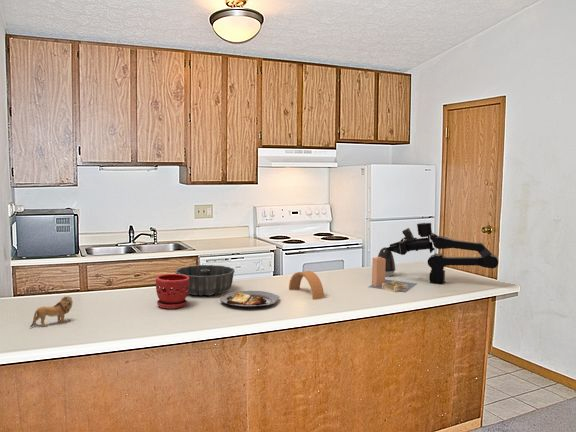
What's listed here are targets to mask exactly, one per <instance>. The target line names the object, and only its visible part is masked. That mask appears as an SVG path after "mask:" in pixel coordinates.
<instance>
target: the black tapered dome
mask: <svg viewBox="0 0 576 432" xmlns="http://www.w3.org/2000/svg"><path fill="white" fill-rule="evenodd" d="M377 257H382V258H384V259H386V264H385V278H386V277H391V276H393V275H394V274H395V271H396V263H395V258H394V254H393V252H392V251H389V250H387V247H385V246H384V247H382V248H381V249H380V250H379V252H378V255H377Z"/></svg>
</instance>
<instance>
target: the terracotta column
mask: <svg viewBox="0 0 576 432" xmlns="http://www.w3.org/2000/svg"><path fill="white" fill-rule="evenodd" d="M385 264H386V259H384V258H382V257H378V256H376V257H372V264H371V269H372V270H371V271H372V272H371V285H374V286H376V287H381V286H382V283H385V279H386V277H385Z"/></svg>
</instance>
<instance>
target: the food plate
mask: <svg viewBox="0 0 576 432" xmlns="http://www.w3.org/2000/svg"><path fill="white" fill-rule="evenodd" d="M279 298H280V296H279V295H278V294H275V293H272V292H270V291H261V290H239V291H232V292H229V293H225V294H223V296H221V297H220V298H219V301H220V303H223V304H224V305H229V306H237V307H243V308H253V307H254V308H255V307H263V306H271V305H273V304H275V303H276V302H277V301H278V300H279Z"/></svg>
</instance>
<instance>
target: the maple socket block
mask: <svg viewBox="0 0 576 432" xmlns="http://www.w3.org/2000/svg"><path fill="white" fill-rule="evenodd" d="M395 281H396V280H394V282H388V283H382V289H381V290H384V289H385V290H384V291H390V292H392V293H398V292H399V291H404V290H407V287H408V285H406V284H403V283H399V282H395ZM399 293H400V292H399Z"/></svg>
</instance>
